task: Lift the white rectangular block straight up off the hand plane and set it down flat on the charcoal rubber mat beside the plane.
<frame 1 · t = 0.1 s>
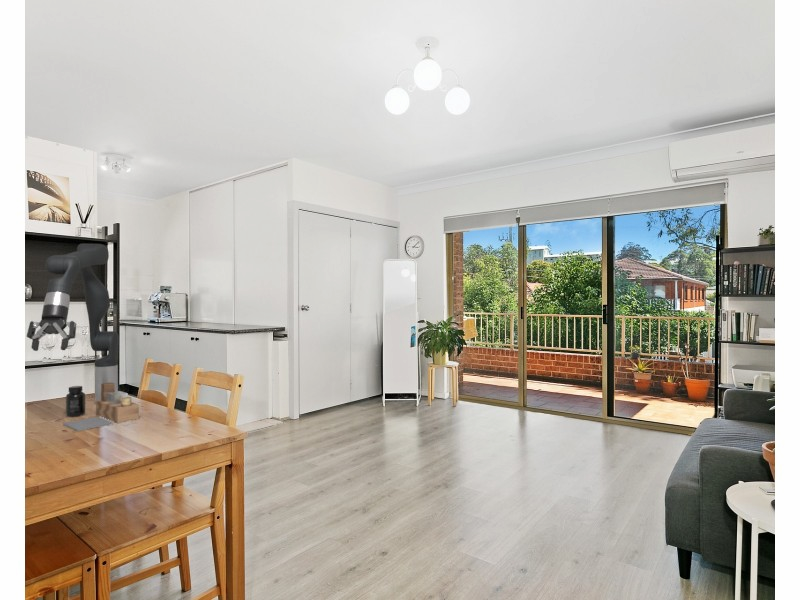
hand: (49, 350, 168), 31 cm above the table, tool tilted 20°, fingers open, 8 cm apart
supplement bottle: (75, 415, 201), on the table
white rectangular block: (117, 402, 198), point 6 cm above the table, touching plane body
mat: (87, 424, 186), on the table
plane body: (117, 417, 198), on the table
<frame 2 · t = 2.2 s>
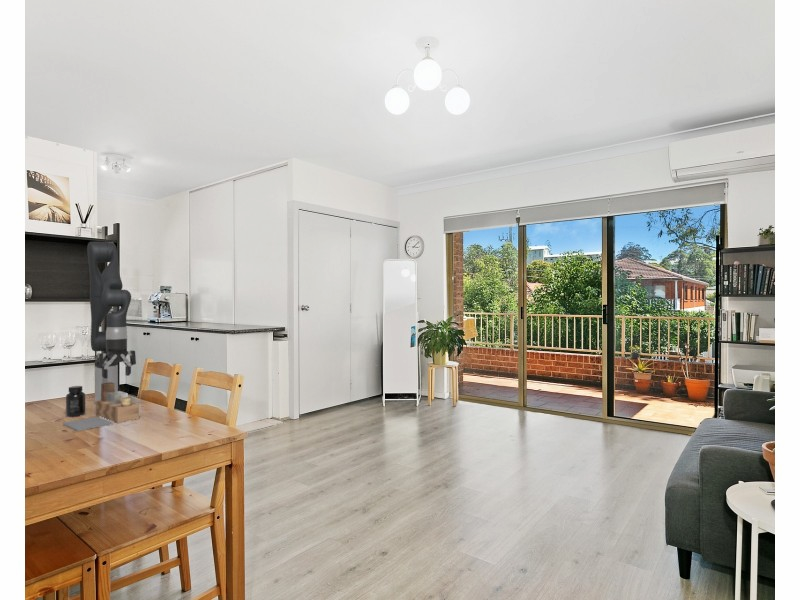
hand: (116, 376, 197), 17 cm above the table, tool pointing down, fingers open, 8 cm apart
nothing on the table moved.
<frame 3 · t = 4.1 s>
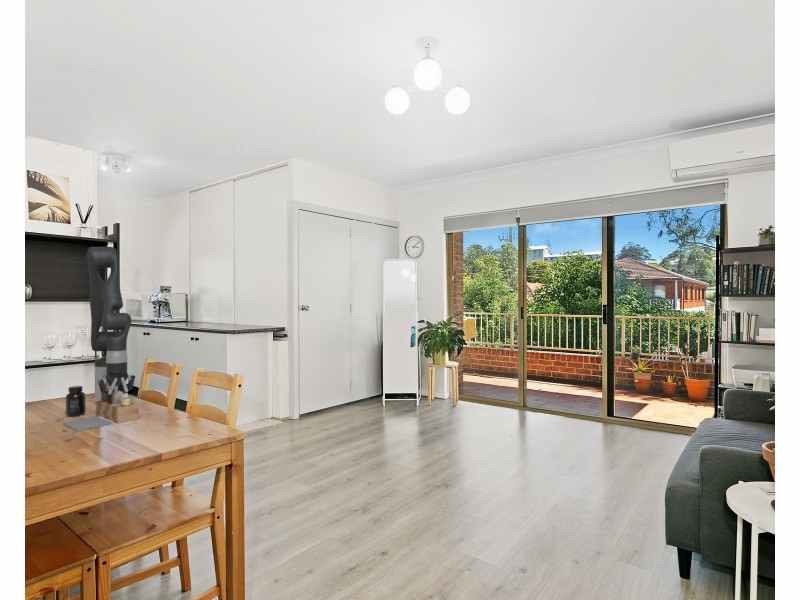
hand: (117, 401, 198), 6 cm above the table, tool pointing down, fingers closed on white rectangular block, 5 cm apart
white rectangular block: (117, 402, 198), point 6 cm above the table, touching gripper, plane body
everything else where it was.
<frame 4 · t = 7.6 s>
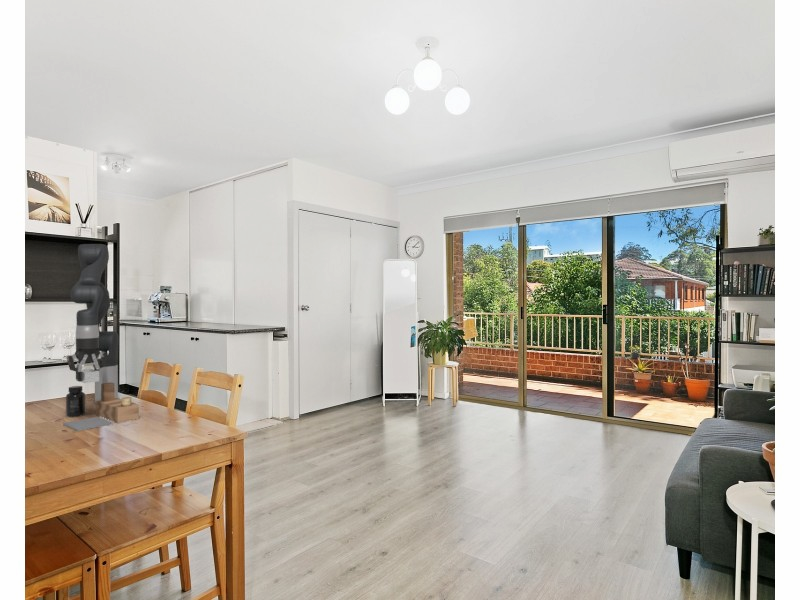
hand: (87, 379, 186), 18 cm above the table, tool pointing down, fingers closed on white rectangular block, 5 cm apart
white rectangular block: (87, 380, 186), point 17 cm above the table, touching gripper
everything else where it was.
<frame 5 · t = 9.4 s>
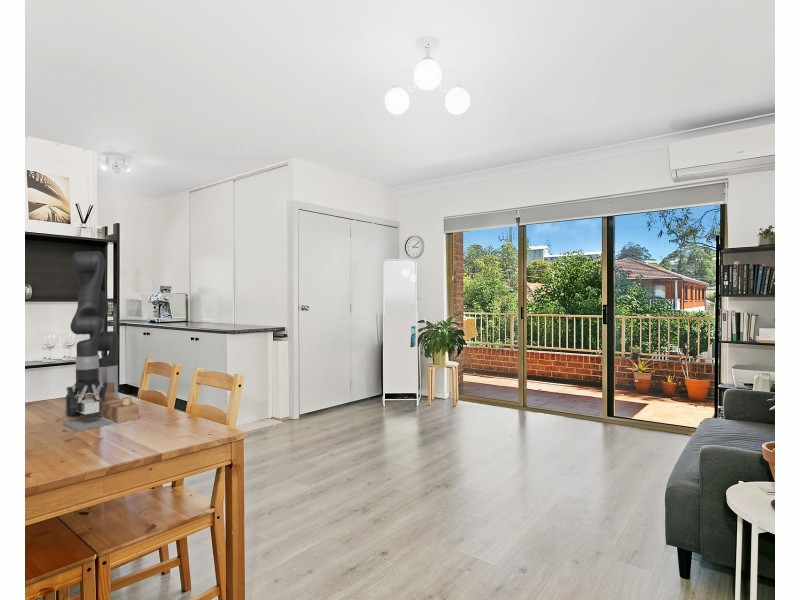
hand: (87, 410, 186), 6 cm above the table, tool pointing down, fingers closed on white rectangular block, 5 cm apart
white rectangular block: (87, 411, 186), point 5 cm above the table, touching gripper
everything else where it was.
when the fingers open (3 cm above the table, at t = 11.0 s): white rectangular block drops 2 cm, resting on mat.
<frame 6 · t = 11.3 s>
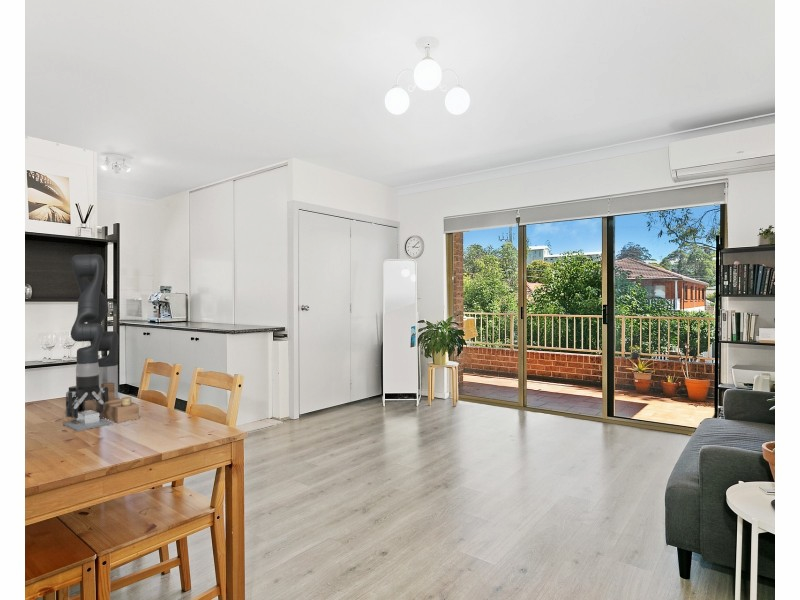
hand: (87, 415, 186), 4 cm above the table, tool pointing down, fingers open, 8 cm apart
white rectangular block: (88, 422, 186), point 1 cm above the table, touching mat
everything else where it was.
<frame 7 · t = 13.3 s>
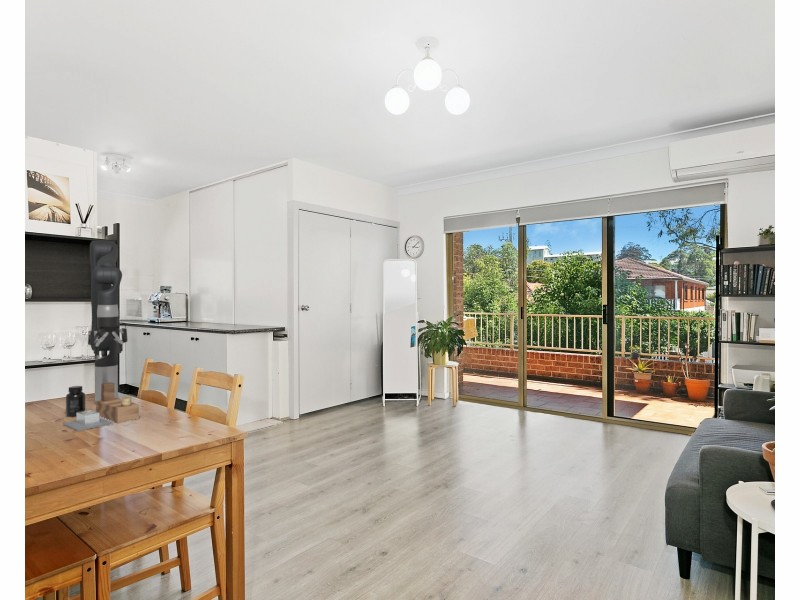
hand: (108, 354, 200), 26 cm above the table, tool pointing down, fingers open, 8 cm apart
nothing on the table moved.
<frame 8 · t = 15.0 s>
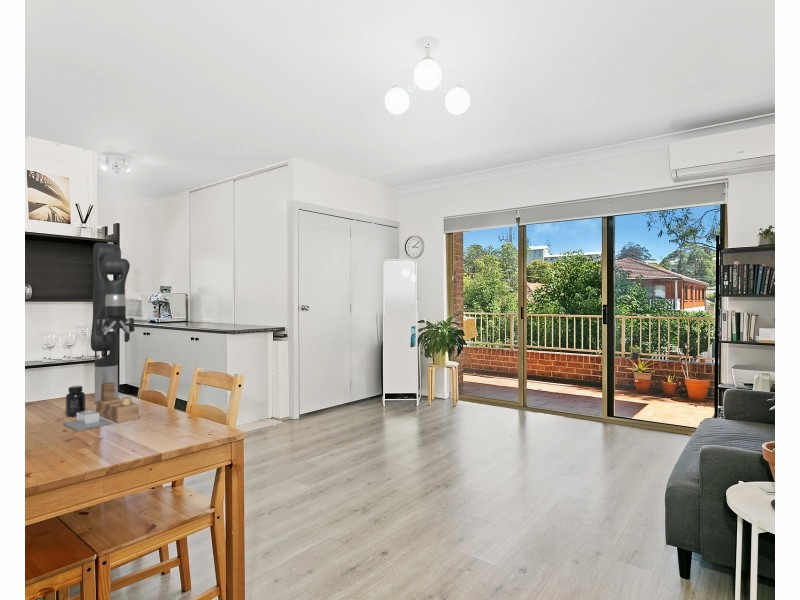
hand: (115, 342, 204), 30 cm above the table, tool pointing down, fingers open, 8 cm apart
nothing on the table moved.
at the end: white rectangular block inside the target area (0.0 cm from its centre), point 0.8 cm above the table; white rectangular block tilted 0°; the gripper is holding nothing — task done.
